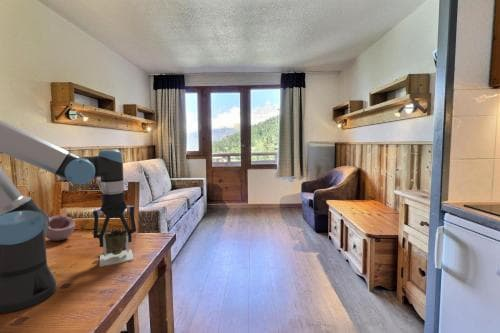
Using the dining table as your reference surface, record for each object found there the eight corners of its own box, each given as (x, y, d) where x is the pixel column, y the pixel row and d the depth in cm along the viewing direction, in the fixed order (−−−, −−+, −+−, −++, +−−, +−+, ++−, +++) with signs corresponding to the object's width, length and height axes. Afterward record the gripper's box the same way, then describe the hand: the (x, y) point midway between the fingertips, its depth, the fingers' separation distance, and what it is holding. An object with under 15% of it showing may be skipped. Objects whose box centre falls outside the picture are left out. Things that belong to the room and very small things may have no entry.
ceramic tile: (133, 260, 100) (133, 258, 99) (99, 266, 94) (99, 265, 94) (131, 250, 108) (131, 249, 108) (100, 256, 103) (100, 254, 103)
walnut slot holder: (123, 239, 122) (123, 230, 121) (125, 249, 109) (125, 240, 109) (106, 241, 118) (105, 232, 118) (106, 253, 106) (105, 243, 106)
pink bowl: (53, 246, 113) (51, 219, 112) (37, 242, 118) (35, 216, 117) (81, 237, 124) (79, 213, 123) (65, 233, 129) (64, 210, 128)
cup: (120, 248, 106) (118, 228, 106) (131, 251, 103) (130, 231, 102) (101, 254, 100) (100, 233, 99) (113, 259, 96) (112, 237, 95)
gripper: (140, 188, 107) (143, 244, 109) (82, 193, 98) (86, 254, 100) (142, 191, 100) (145, 251, 103) (80, 196, 91) (85, 262, 93)
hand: (116, 252), depth 101 cm, fingers closed on cup, 7 cm apart
